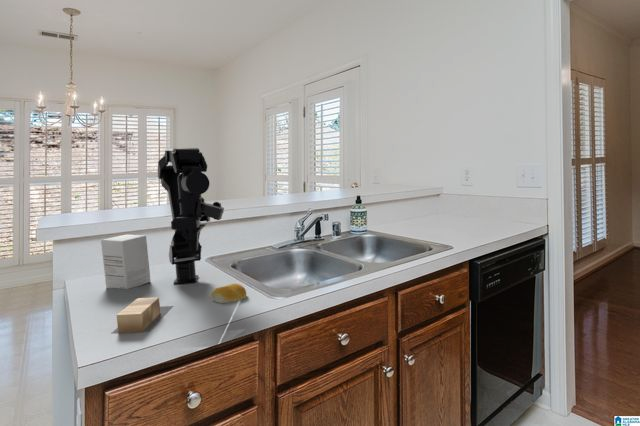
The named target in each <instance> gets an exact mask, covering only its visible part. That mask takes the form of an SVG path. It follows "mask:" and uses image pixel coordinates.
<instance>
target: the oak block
mask: <svg viewBox="0 0 640 426" xmlns="http://www.w3.org/2000/svg"><path fill="white" fill-rule="evenodd" d="M160 305H161V303H160V297H158V296H157V297H156V296H155V297H138V298H136V299H135V300H133V301H132V302H131V303H130V304H129V305H127V306H126V307H125V308H124V309H122V310H121V311H119V312H118V313H117V314H116V321H117V328H118V333H117V334H127V333H128V332H131V333H144V332H143V331H144V330H145V329H146V328H147V327H148V326H149V325H150V323H151V322H152V321H153V320H154V319H155V318H156V317H157V316H158V315H159V314H160V307H161V306H160ZM128 334H129V333H128Z"/></svg>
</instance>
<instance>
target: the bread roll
mask: <svg viewBox="0 0 640 426" xmlns="http://www.w3.org/2000/svg"><path fill="white" fill-rule="evenodd" d="M246 297H247V290H246V288H245V287H244V286H243V285H241V284H238V283H232V284H228V285H225V286H219V287H217V288H215V289H214V290H213V291H212V293H211V294H210V299H211V301H212V302H216V303H219V304H226V303H227V304H228V303H233V302H236V301H242V300H245V298H246Z"/></svg>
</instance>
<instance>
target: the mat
mask: <svg viewBox="0 0 640 426" xmlns="http://www.w3.org/2000/svg"><path fill="white" fill-rule="evenodd" d="M173 307H174V305H166V306H165V305H163V306H160V314H159V315H158V316H157V317H156V318H155V319H154V320H153V321H152V322H151V323H150V325H149V326H148V327H147V328H146V329H145V330H144V331H143V332H142V333H149V332H150V331H152V329H154V327H156V325H157V324H158V323H159V322H160V321H161V320H162V319H163V318H164V317H165V316H166V315H167V313H168V312H169V311H171V309H173ZM129 333H131V334H132V332H128V334H129ZM111 334H119V333H118V327H117V328H115V329H114V330H113V331H112V332H111Z"/></svg>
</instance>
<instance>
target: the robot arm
mask: <svg viewBox="0 0 640 426" xmlns="http://www.w3.org/2000/svg"><path fill="white" fill-rule="evenodd" d="M169 163H171V164H169ZM207 169H208V164H207V161H206V159H205V156H204V155H203V153H202V151H200V148H198V147H174V148H167V149H165V150H164V155H163V156H162V157H161V159H159V160H158V161H157V178H158V179H159V180H160V185H161V186H162V188H163V189H164V190H165V191H166V192H167V194H168V199H169V205H170V206H169V207H170V212H171V217H172V221H171V222H170V226H171V227H170V228H171V230H174V234H173V236H172V239H171V242H170V245H169V251H168V252H169V253H168V258H169V260H168V261H169V262H170V264H171V265H172V266H173V265H174V266H175V276H176V278H175V280H174V281H173V285H175V284H176V285H177V284H188V283H189V284H190V283H196V282H197V281H198V279H199V275H198V274H197V273H196V261H199V262H200V261H201V259H202V256H201V255H202V247H203V246H202V245H201V242H200V241H199V240H200V235H201V231H203V229H204V228H205V227H206V225H207V224H206V223H207V222H211V219H213V220H217V221H219V220H221V219H222V217H223V214H224V212H225V211H224V210H225V208H224V207H222V203H221V202H218V201H214V202H213V203H209V202H208V203H207V202H205V198H204V197H203V196H202V195H203V194H205V193H206V192H207V191H208V190H209V187H210V179H209V177H208V176H207V175H206V174H205V173H207ZM202 222H206V223H202Z"/></svg>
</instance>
